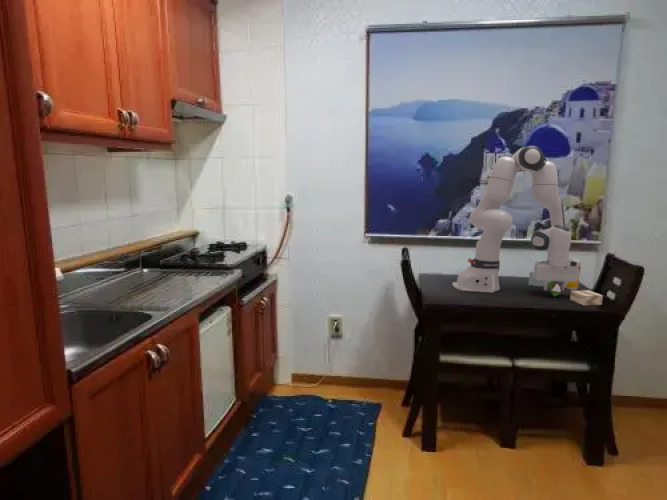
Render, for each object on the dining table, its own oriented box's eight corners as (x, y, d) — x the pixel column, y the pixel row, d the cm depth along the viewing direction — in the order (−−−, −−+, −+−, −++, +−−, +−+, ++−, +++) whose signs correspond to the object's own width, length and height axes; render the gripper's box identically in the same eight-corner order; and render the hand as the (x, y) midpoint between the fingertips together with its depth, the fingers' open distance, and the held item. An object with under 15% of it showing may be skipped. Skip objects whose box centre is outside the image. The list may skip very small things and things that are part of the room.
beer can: (579, 290, 234) (583, 260, 232) (566, 289, 236) (569, 259, 233) (575, 287, 240) (579, 258, 238) (562, 286, 241) (566, 257, 239)
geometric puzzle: (540, 290, 226) (545, 280, 220) (550, 285, 228) (556, 274, 222) (551, 301, 222) (557, 291, 216) (562, 296, 224) (568, 286, 218)
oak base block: (583, 305, 209) (584, 295, 208) (569, 300, 217) (570, 290, 217) (601, 305, 210) (602, 295, 210) (587, 299, 219) (588, 290, 218)
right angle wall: (547, 282, 252) (549, 268, 251) (554, 287, 240) (555, 273, 239) (524, 281, 254) (525, 267, 253) (528, 286, 242) (530, 271, 241)
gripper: (538, 261, 216) (534, 291, 219) (582, 263, 217) (578, 292, 220) (532, 258, 223) (528, 287, 225) (575, 260, 224) (571, 289, 226)
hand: (553, 290), depth 223 cm, fingers closed on geometric puzzle, 6 cm apart
